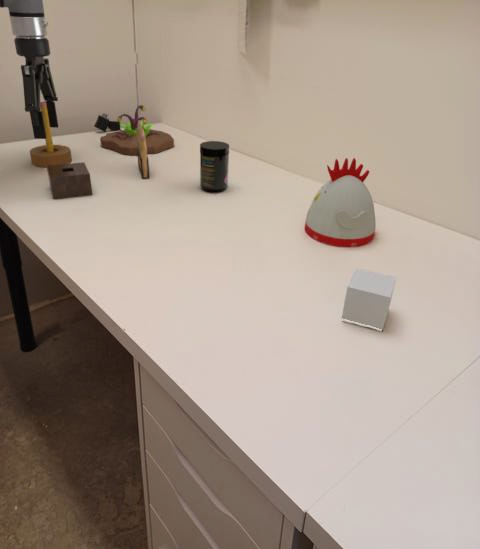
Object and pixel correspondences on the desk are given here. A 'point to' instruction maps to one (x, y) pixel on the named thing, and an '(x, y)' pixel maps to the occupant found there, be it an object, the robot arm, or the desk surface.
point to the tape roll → (50, 155)
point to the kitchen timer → (342, 209)
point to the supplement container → (214, 166)
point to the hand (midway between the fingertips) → (47, 132)
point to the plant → (128, 138)
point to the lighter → (106, 123)
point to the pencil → (47, 127)
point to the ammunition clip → (142, 152)
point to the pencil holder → (69, 180)
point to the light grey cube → (368, 298)
